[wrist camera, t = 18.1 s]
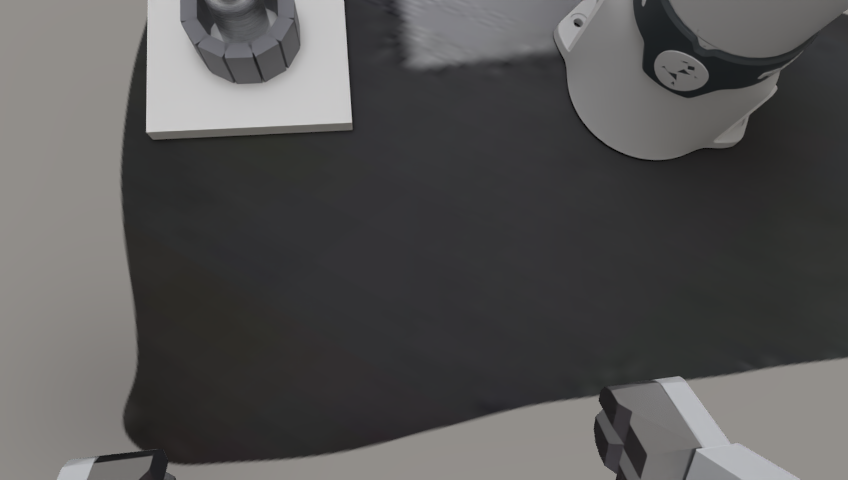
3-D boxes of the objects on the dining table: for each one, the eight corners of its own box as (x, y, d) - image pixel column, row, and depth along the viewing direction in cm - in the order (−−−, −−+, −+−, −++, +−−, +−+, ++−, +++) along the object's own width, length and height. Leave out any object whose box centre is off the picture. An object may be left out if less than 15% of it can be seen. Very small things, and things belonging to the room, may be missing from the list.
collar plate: (154, -34, 50) (129, -82, 45) (341, -38, 52) (337, -85, 47) (153, 139, 47) (125, 110, 42) (352, 130, 49) (350, 100, 43)
